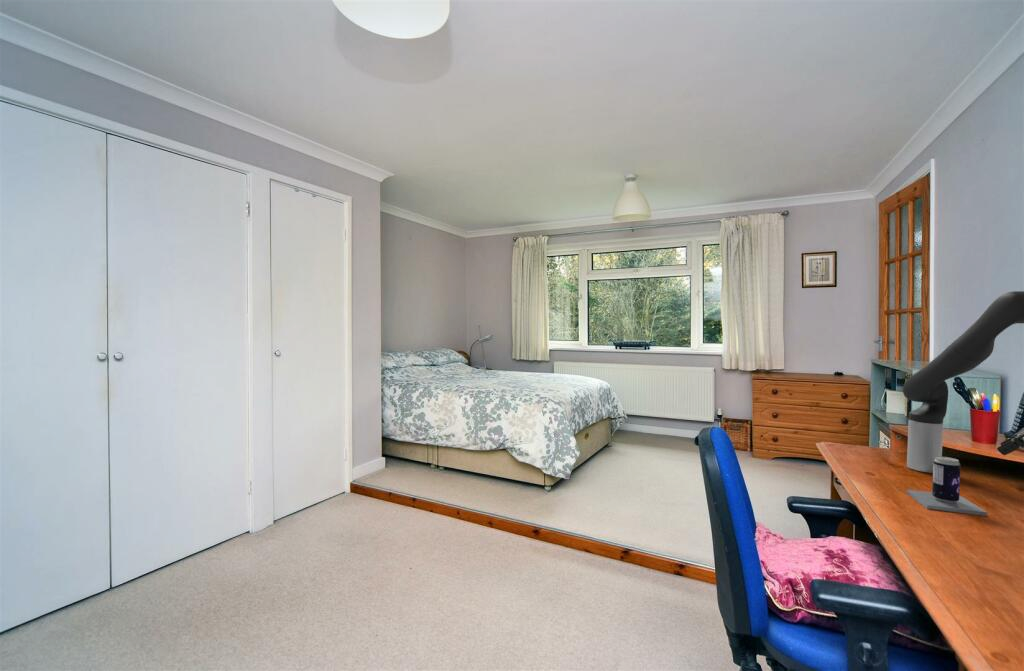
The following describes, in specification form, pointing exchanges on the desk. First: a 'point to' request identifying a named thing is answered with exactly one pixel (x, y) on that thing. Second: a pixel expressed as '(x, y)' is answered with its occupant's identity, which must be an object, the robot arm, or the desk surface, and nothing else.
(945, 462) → the beverage can
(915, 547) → the desk surface
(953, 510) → the slate tile
